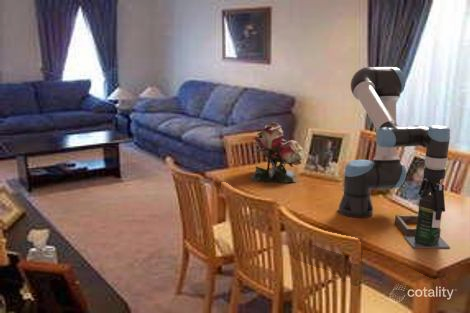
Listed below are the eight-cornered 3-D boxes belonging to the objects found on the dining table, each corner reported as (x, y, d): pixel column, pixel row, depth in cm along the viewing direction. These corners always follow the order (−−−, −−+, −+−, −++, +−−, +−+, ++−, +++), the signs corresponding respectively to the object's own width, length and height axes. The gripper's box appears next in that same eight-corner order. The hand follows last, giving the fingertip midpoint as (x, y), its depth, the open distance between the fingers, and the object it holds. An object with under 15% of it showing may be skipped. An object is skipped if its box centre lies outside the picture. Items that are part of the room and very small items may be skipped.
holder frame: (406, 236, 201) (407, 229, 200) (394, 221, 216) (395, 215, 215) (439, 236, 201) (440, 229, 200) (425, 221, 216) (426, 215, 215)
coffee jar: (431, 248, 188) (437, 202, 184) (411, 242, 193) (416, 197, 189) (441, 241, 195) (447, 195, 191) (421, 235, 200) (426, 191, 196)
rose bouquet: (305, 183, 268) (308, 128, 260) (250, 182, 267) (251, 127, 260) (299, 170, 293) (301, 119, 285) (249, 169, 292) (249, 118, 285)
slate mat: (412, 248, 190) (412, 246, 190) (404, 237, 200) (404, 235, 200) (449, 248, 190) (449, 246, 190) (439, 237, 200) (439, 236, 200)
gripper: (459, 177, 175) (452, 233, 181) (432, 158, 199) (426, 209, 205) (438, 176, 175) (431, 233, 181) (413, 158, 199) (408, 208, 205)
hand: (428, 220), depth 193 cm, fingers open, 13 cm apart
